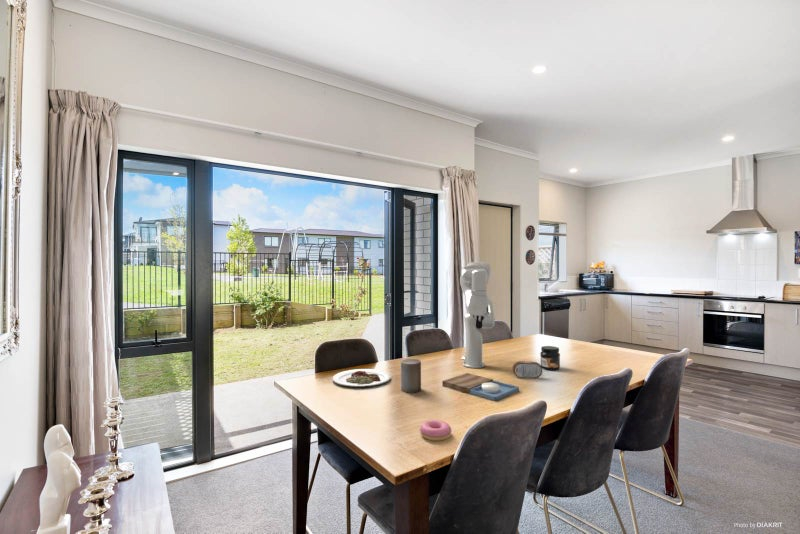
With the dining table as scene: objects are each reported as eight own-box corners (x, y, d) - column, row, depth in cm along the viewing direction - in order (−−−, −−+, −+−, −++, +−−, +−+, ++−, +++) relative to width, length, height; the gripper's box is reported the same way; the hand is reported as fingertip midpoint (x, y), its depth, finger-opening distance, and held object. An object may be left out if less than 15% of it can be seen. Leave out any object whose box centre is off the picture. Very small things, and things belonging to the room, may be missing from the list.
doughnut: (418, 429, 141) (418, 418, 141) (448, 428, 142) (448, 417, 142) (421, 443, 130) (421, 431, 130) (454, 442, 131) (454, 430, 131)
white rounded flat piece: (478, 390, 183) (478, 384, 183) (489, 386, 188) (489, 381, 188) (491, 394, 177) (491, 389, 177) (502, 390, 182) (502, 385, 182)
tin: (541, 377, 206) (541, 361, 206) (543, 379, 203) (543, 362, 203) (512, 376, 207) (512, 360, 207) (513, 378, 204) (513, 362, 204)
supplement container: (541, 370, 219) (541, 349, 219) (539, 365, 229) (539, 345, 229) (561, 371, 216) (561, 350, 216) (558, 366, 227) (558, 346, 227)
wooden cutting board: (442, 386, 191) (442, 380, 191) (467, 377, 205) (467, 373, 205) (469, 393, 180) (469, 388, 180) (493, 384, 193) (493, 379, 193)
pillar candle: (424, 388, 188) (424, 357, 188) (416, 394, 180) (416, 361, 179) (405, 385, 192) (405, 355, 192) (397, 391, 184) (397, 359, 183)
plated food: (354, 393, 181) (354, 386, 181) (321, 379, 204) (321, 373, 204) (402, 380, 201) (402, 374, 201) (367, 369, 223) (367, 363, 223)
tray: (469, 393, 179) (469, 389, 179) (493, 384, 193) (493, 380, 193) (495, 401, 169) (495, 396, 169) (518, 391, 183) (518, 386, 183)
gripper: (463, 292, 207) (463, 327, 208) (487, 295, 196) (487, 331, 197) (471, 291, 212) (471, 325, 213) (495, 293, 201) (495, 329, 202)
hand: (479, 328), depth 205 cm, fingers closed
